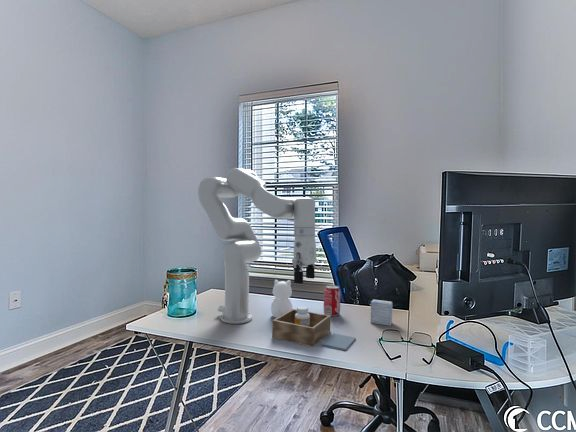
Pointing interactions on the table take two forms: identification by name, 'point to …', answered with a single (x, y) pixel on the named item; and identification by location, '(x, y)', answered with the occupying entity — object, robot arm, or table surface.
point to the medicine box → (381, 312)
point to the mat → (339, 341)
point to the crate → (301, 328)
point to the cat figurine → (281, 298)
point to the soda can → (332, 300)
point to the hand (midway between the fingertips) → (304, 280)
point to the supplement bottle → (302, 316)
